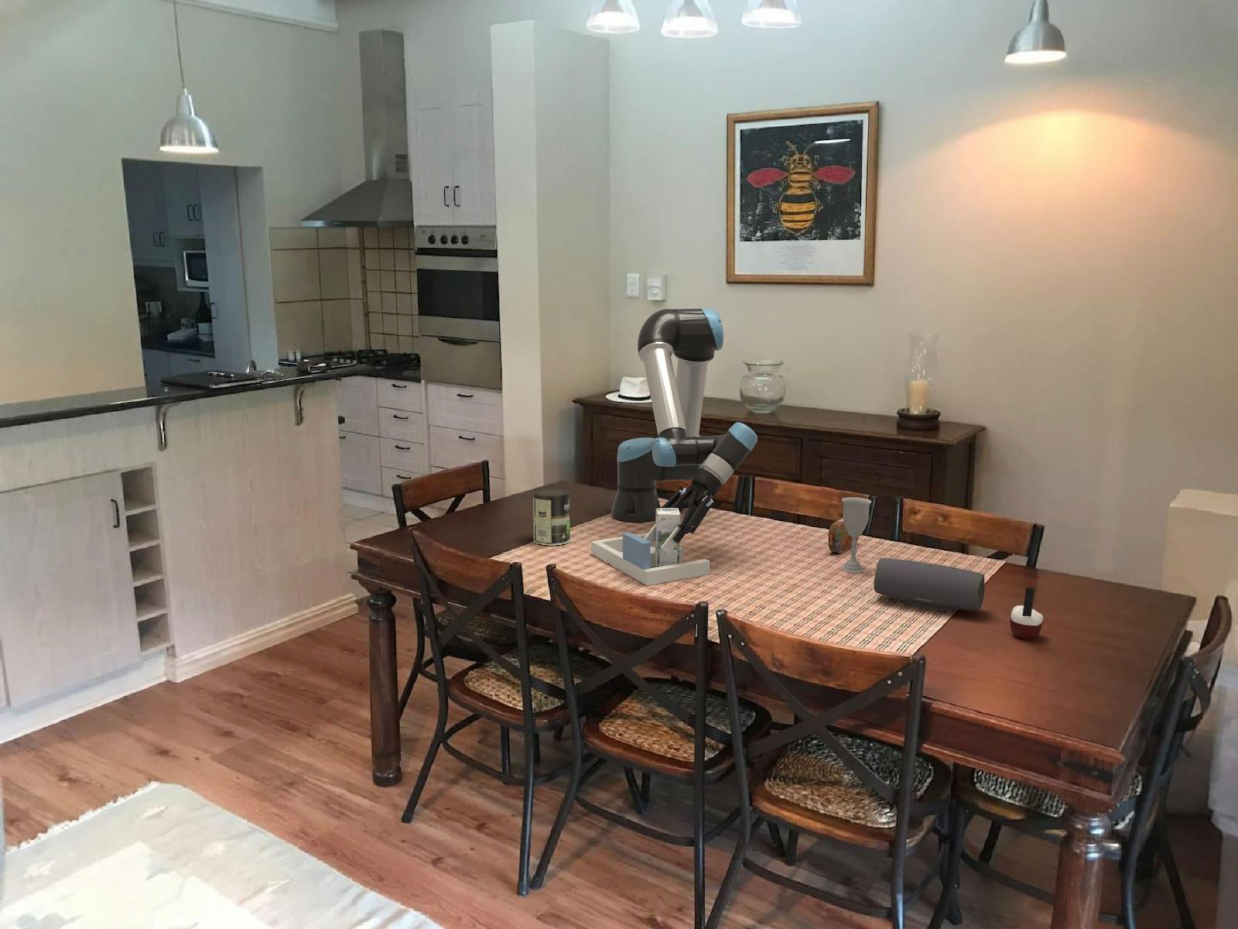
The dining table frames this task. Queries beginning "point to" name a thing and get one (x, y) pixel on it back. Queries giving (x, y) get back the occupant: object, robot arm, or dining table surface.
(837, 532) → the brown stone slab
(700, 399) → the robot arm
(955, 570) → the bluetooth speaker
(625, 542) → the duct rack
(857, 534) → the chalice
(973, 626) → the dining table surface
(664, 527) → the syrup box
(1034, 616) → the cocoa
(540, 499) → the coffee can
